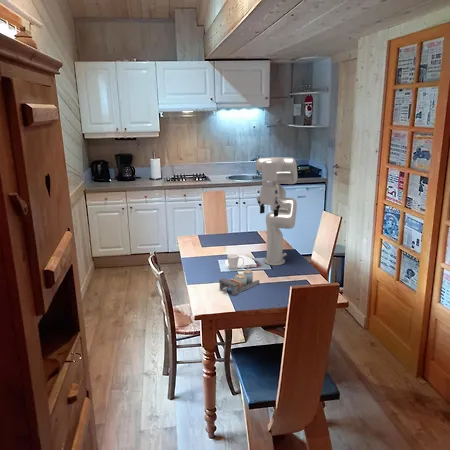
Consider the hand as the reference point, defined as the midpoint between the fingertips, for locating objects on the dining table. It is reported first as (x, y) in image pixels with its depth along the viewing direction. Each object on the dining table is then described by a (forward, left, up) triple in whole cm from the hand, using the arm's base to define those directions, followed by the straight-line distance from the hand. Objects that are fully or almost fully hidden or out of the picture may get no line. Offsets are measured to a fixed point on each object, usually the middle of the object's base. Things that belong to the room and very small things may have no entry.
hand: (269, 214), depth 227 cm
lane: (+21, -2, -36) cm, 42 cm away
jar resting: (+20, -2, -36) cm, 42 cm away
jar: (+15, -2, -36) cm, 39 cm away
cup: (+4, -22, -36) cm, 43 cm away
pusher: (+29, -2, -36) cm, 46 cm away
